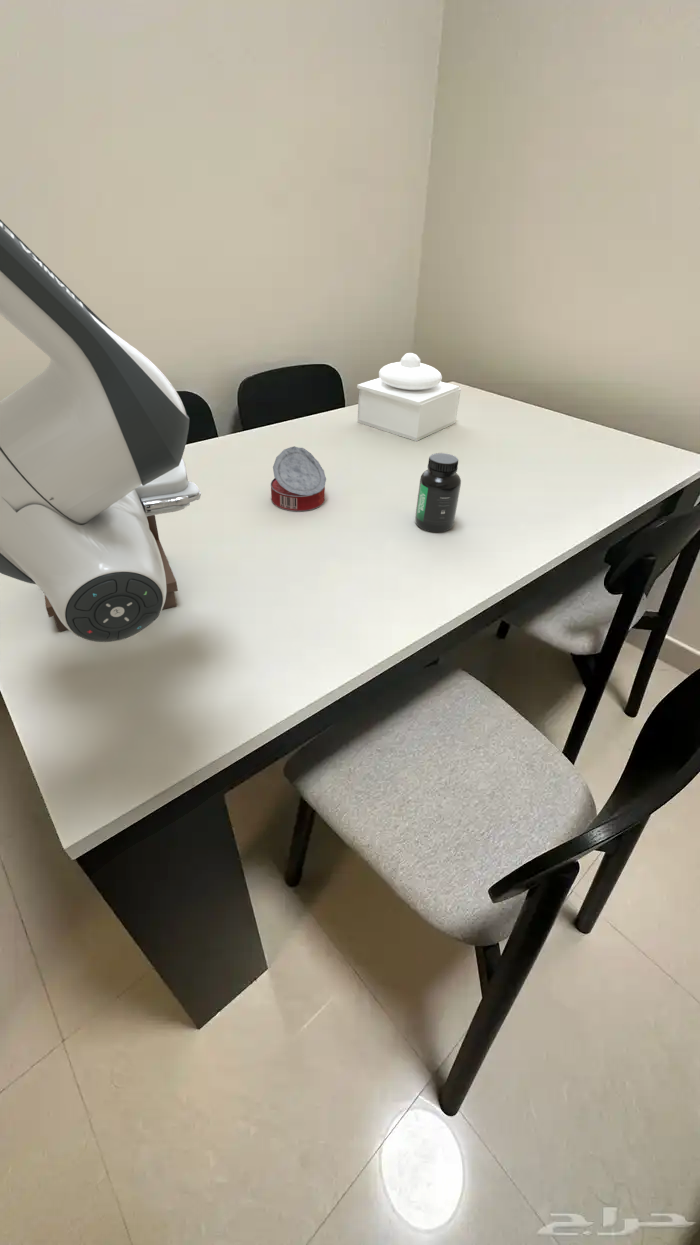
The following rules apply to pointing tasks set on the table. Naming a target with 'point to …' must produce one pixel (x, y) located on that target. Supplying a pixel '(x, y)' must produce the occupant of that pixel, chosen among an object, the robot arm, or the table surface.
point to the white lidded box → (408, 400)
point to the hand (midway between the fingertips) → (80, 461)
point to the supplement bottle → (438, 494)
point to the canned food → (297, 481)
